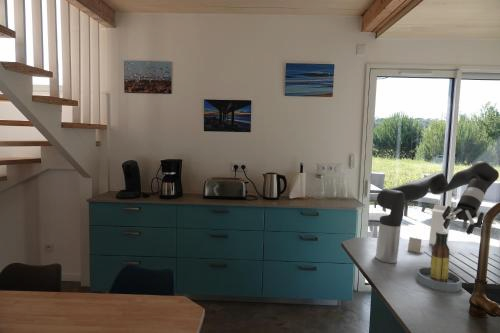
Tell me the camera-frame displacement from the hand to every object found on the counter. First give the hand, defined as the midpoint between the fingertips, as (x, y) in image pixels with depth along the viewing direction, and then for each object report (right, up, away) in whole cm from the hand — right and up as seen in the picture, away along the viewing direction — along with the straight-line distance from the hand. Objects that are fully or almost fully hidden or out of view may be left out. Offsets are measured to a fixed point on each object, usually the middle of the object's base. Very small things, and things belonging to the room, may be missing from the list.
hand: (456, 230), depth 136 cm
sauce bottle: (-8, -20, -2) cm, 22 cm away
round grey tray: (-9, -21, -2) cm, 22 cm away
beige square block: (0, -18, +36) cm, 40 cm away
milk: (+19, -17, +49) cm, 56 cm away
